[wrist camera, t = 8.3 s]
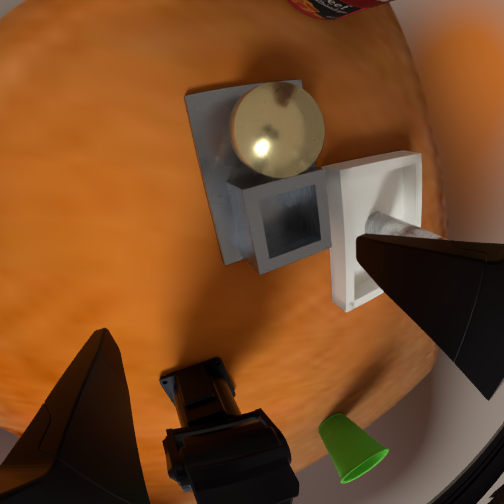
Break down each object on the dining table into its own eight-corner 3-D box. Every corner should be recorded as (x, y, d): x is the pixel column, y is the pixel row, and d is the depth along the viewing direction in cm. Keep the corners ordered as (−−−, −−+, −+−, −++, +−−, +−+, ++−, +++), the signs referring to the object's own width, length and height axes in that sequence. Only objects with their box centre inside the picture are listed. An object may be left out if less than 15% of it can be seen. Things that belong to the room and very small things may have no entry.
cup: (357, 413, 44) (391, 453, 35) (317, 442, 43) (347, 485, 34) (346, 397, 40) (387, 444, 30) (300, 431, 39) (334, 482, 29)
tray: (402, 265, 32) (416, 273, 30) (332, 300, 29) (346, 312, 27) (403, 150, 26) (421, 153, 24) (321, 166, 23) (339, 170, 21)
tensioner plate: (318, 229, 25) (352, 247, 21) (223, 262, 23) (243, 290, 19) (297, 80, 20) (333, 71, 16) (183, 97, 17) (197, 84, 13)
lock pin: (385, 235, 28) (448, 266, 21) (364, 243, 28) (429, 279, 20) (385, 208, 27) (453, 235, 20) (364, 215, 26) (434, 245, 19)
